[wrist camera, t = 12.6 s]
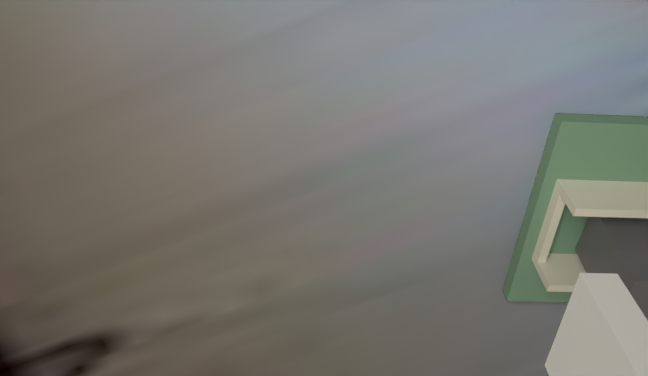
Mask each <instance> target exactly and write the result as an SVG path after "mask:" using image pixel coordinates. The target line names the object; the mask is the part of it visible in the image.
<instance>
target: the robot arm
mask: <svg viewBox="0 0 648 376" xmlns="http://www.w3.org/2000/svg"><path fill="white" fill-rule="evenodd" d="M545 367H546V370H547V372H548V374H549V376H648V320H647V319H646V317H645V316H644V314H643V313H642V311H641V309H640V308H639V306H638V305H637V303H636V302H635V300H634V299H633V297H632V295H631V294H630V292H629V291H628V289H627V288H626V286H625V285H624V283H623V281H622V280H621V278H620V277H619V275H618V274H611V273H580V274H579V277H578V279H577V282H576V284H575V287H574V290H573V292H572V295H571V298H570V300H569V303H568V305H567V308H566V311H565V313H564V316H563V319H562V321H561V324H560V326H559V329H558V332H557V334H556V337H555V340H554V342H553V345H552V347H551V350H550V353H549V355H548V358H547V361H546V363H545Z"/></svg>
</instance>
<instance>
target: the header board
mask: <svg viewBox="0 0 648 376" xmlns="http://www.w3.org/2000/svg"><path fill="white" fill-rule="evenodd" d="M589 217H618V218H648V117H639V116H613V115H586V114H560V113H555V116H554V119H553V122H552V126H551V129H550V133H549V136H548V139H547V143H546V146H545V149H544V153H543V156H542V160H541V163H540V166H539V170H538V173H537V177H536V180H535V183H534V187H533V190H532V193H531V197H530V200H529V204H528V207H527V210H526V214H525V217H524V220H523V224H522V227H521V231H520V234H519V237H518V241H517V244H516V248H515V251H514V254H513V258H512V261H511V264H510V268H509V271H508V275H507V278H506V281H505V285H504V288H503V293H504V295H505V298H506V300H507V301H518V302H562V303H569V300H570V298H571V295H572V292H573V290H574V287H575V284H576V282H577V279H578V277H579V274H580V273H586V271H585V269H584V267H583V265H582V263H581V261H580V259H579V257H578V255H577V253H576V251H575V248H576V245H577V243H578V241H579V239H580V236H581V234H582V232H583V230H584V227H585V225H586V223H587V221H588V218H589Z"/></svg>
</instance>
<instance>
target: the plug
mask: <svg viewBox="0 0 648 376" xmlns="http://www.w3.org/2000/svg"><path fill="white" fill-rule="evenodd" d="M575 251H576V253H577V255H578V257H579V259H580V261H581V263H582V265H583V267H584V269H585V271H586V273H611V274H618V275H619V277H620V278H621V280H622V281H623V283H624V285H625V286H626V288H627V289H628V291H629V292H630V294H631V295H632V297H633V299H634V300H635V302H636V303H637V305H638V306H639V308H640V309H641V311H642V313H643V314H644V316H645V317H646V319H647V320H648V218H618V217H589V218H588V221H587V223H586V225H585V227H584V230H583V232H582V234H581V236H580V239H579V241H578V243H577V245H576V248H575Z"/></svg>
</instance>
